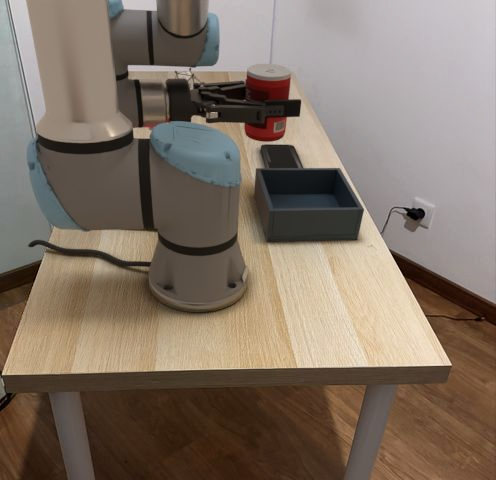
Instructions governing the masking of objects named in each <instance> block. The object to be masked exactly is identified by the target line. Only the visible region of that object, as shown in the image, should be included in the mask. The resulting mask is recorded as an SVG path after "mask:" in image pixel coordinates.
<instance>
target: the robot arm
mask: <svg viewBox="0 0 496 480" xmlns="http://www.w3.org/2000/svg"><path fill="white" fill-rule="evenodd" d="M25 2H26V7H27V12H28V13H27V14H28V19H29V24H30V29H31V35H32V40H33V46H34V52H35V57H36V64H37V66H38V67H37V69H38V74H39V78H40V80H39V81H40V84H41V91H42V96H43V102H44V106H45V113H44V115H43V116H42V117H41V118H40V119H39V121H38V122H37V123H36V125H35V131H36V136H35V137H33V138H31V139H30V140H29V141H28V143H27V146H26V162H27V166H28V175H29V176H28V177H29V181H30V185H31V188H32V192H33V195H34V198H35V200H36V203H37V205H38V208H39V210H40V212H41V213H42V215H43V217H44V218H45V219H46V221H47V222H48V223H50V224H51V225H52V226H53V227H54V228H57V229H59V230H67V231H75V230H76V231H81V232H90V231H116V230H117V231H118V230H119V231H120V230H157V242H156V245H155V248H154V251H153V254H152V258H151V261H143V260H142V261H141V260H123V259H120V258H117V257H115V256H113V255H111V254H110V253H107V252H104V251H101V250H97V249H91V248H66V247H61V246H58V245H55V244H53V243H52V242H48V241H46V240H43V239H33V240H31V242H29V243H28V245H27V247H28V248H34V247H36V246H43V247H45V248H48V249H50V250H51V251H55V252H57V253H61V254H67V255H89V256H96V257H97V256H98V257H101V258H103V259H106V260H108V261H110V262H112V263H114V264H116V265H119V266H123V267H141V268H142V267H143V268H145V267H146V268H149V269H148V286H149V290H150V292H151V294H152V295H153V297H154V298H155V299H157V300H158V301H159V302H160V303H161V304H163V305H165V306H168V307H169V308H172V309H174V310H178V311H182V312H190V313H208V312H215V311H218V310H222V309H225V308H227V307H230V306H232V305H233V304H235V303H236V302H238V301H239V300H240V299H241V298H242V297H243V296H244V295H245V293H246V291H247V288H248V278H249V277H248V275H249V267H248V264H246V262H245V259H244V257H243V253H242V250H241V246H240V244H239V239H238V235H239V215H240V214H239V212H240V190H241V188H240V187H241V184H242V180H243V176H242V173H241V168H242V167H241V152H240V149H239V147H238V144H237V143H236V142H235V140H234V139H233V138H232V137H231V136H230V135H228V134H226V133H225V132H223V131H221V130H219V129H217V128H215V127H212V126H209V125H207V124H216V123H230V124H231V123H232V124H245V123H260V124H264V122H265V118H277V117H287V118H299V117H300V116H301V109H302V108H301V106H302V100H301V98H294V99H290V98H289V99H288V100H264V103H263V102H253V101H246V80H233V81H220V82H208V83H207V82H205V83H202V82H201V83H194V84H193V89H192V90H190V86H189V83H188V81H187V80H186V79H184V78H180V79H175V78H167V79H166V80H165V81H164V80H163V79H162V78H135V79H131V78H129V76H130V74H129V66H150V67H151V66H154V67H179V68H180V67H181V68H191V69H193V68H195V69H196V68H197V67H214V66H215V65H216V64H218V62H219V57H220V43H221V42H220V21H219V17H218V15H217V14H216V13H214V12H209V6H210V5H209V4H210V0H155V2H156V10H147V9H129V8H128V9H127V8H124V7H125V6H124V5H123V0H25ZM194 116H196V117H201V118H204V119H205V123H207V124H202V123H197V122H193V121H192V117H194ZM139 128H140V129H142V128H147V129H148V130H149V131H150V133H149V138H137V137H134V129H139Z"/></svg>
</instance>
